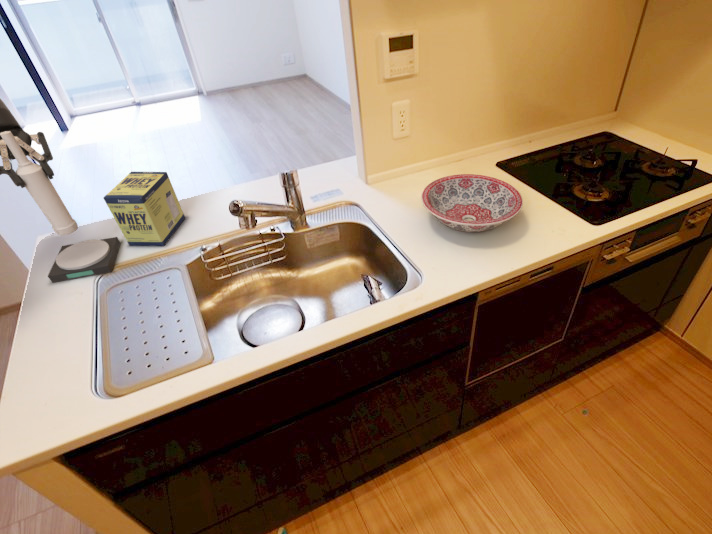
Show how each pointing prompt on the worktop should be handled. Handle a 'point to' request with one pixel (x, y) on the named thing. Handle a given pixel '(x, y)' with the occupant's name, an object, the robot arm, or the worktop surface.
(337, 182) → the worktop surface
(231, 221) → the worktop surface
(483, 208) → the ceramic bowl
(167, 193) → the protein box
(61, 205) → the bottle
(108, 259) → the scale
